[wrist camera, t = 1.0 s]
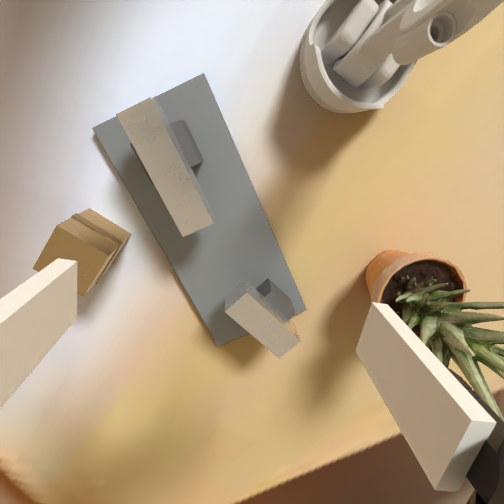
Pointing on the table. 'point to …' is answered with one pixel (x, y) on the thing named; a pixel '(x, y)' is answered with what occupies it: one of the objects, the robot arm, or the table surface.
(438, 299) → the potted plant
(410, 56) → the engine component
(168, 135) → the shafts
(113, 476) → the table surface
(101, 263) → the tan cardboard block
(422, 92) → the table surface
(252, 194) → the shaft bench
